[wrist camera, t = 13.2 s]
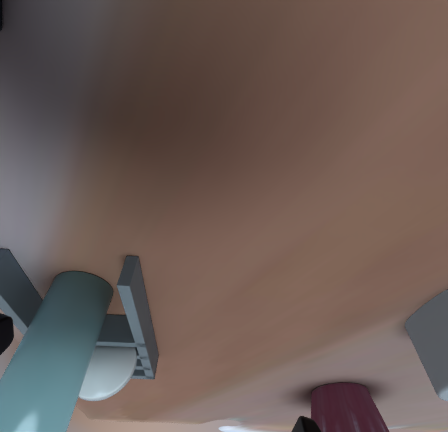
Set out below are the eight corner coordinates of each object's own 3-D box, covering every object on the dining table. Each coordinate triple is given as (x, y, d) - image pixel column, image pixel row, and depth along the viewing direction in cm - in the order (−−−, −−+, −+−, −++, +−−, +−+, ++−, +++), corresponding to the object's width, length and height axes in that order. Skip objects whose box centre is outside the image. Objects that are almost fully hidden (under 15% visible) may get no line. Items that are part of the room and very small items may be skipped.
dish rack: (-4, 248, 25) (-27, 278, 22) (138, 256, 25) (129, 285, 23) (69, 351, 39) (59, 375, 37) (158, 355, 39) (154, 379, 37)
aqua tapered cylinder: (41, 278, 27) (-49, 433, 19) (88, 265, 26) (15, 428, 17) (80, 306, 31) (20, 448, 22) (124, 297, 30) (79, 445, 21)
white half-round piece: (78, 324, 32) (50, 395, 27) (141, 327, 33) (125, 397, 27) (82, 330, 33) (55, 399, 28) (143, 333, 34) (127, 402, 28)
